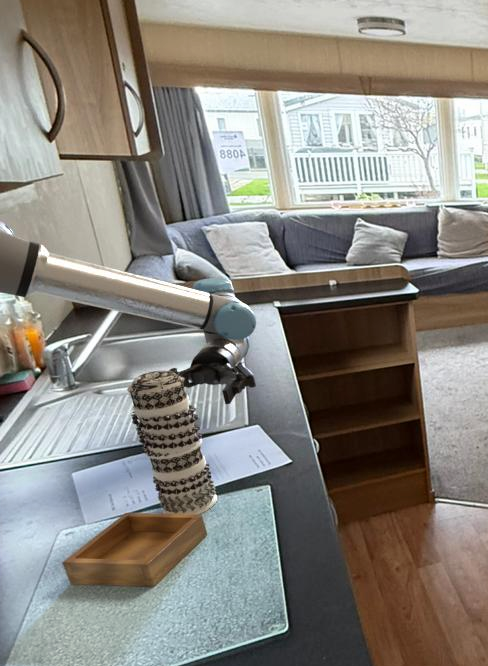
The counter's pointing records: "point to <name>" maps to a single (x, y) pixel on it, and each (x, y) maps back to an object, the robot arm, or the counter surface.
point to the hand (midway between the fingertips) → (185, 401)
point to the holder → (136, 550)
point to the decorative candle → (172, 443)
